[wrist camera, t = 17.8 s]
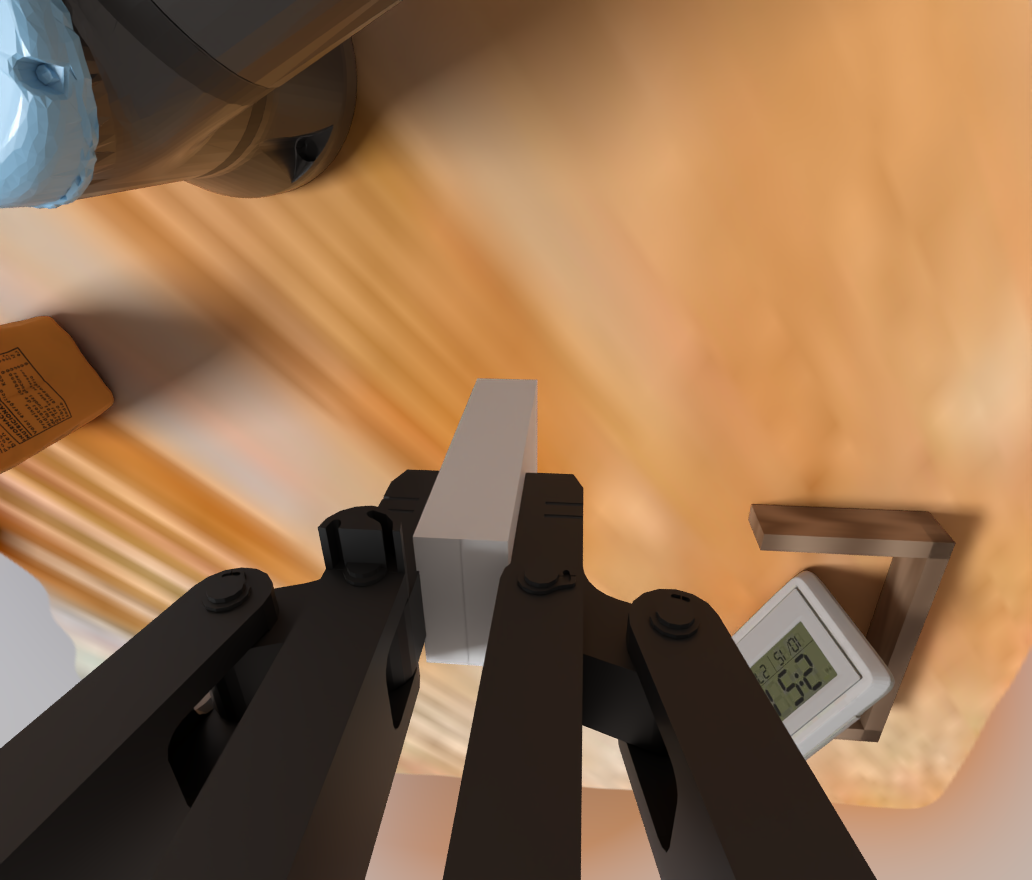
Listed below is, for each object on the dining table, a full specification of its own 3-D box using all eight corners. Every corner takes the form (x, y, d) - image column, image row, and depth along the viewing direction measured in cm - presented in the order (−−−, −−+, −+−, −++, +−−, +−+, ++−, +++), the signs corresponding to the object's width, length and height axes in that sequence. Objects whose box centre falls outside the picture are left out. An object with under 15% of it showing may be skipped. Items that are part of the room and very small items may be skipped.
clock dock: (714, 694, 60) (722, 730, 57) (751, 504, 50) (763, 533, 46) (860, 704, 59) (877, 742, 55) (928, 511, 49) (955, 542, 45)
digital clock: (809, 555, 52) (858, 653, 42) (877, 613, 54) (939, 718, 45) (666, 654, 59) (682, 757, 49) (732, 702, 61) (759, 810, 51)
